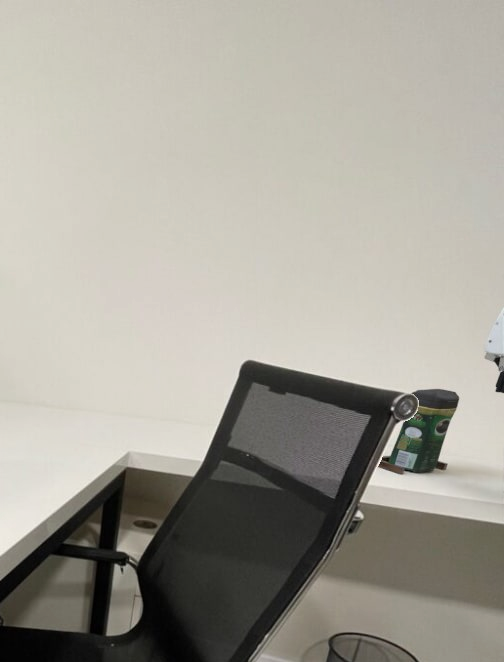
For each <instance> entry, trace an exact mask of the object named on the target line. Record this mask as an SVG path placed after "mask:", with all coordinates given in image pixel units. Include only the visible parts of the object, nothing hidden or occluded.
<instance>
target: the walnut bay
mask: <svg viewBox="0 0 504 662" xmlns="http://www.w3.org/2000/svg"><path fill="white" fill-rule="evenodd" d="M382 456H383V455H382ZM390 456H391V455H384V456H383V457H382V460H381V462H380V464H379V466H378V468H381V469H383V470H386V471H389V472H393V473H396V474H398V475H403V474H404V473H405V468H404V467H401V466H398V465H395V464H392V463H389V459H390ZM448 464H449V463H447V462H443V461H440V460H438V462H437V465H436V468H437V469H439V470H443V471H444V470H447V467H448ZM436 468H435V469H436Z"/></svg>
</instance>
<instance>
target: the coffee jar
mask: <svg viewBox="0 0 504 662" xmlns="http://www.w3.org/2000/svg"><path fill="white" fill-rule="evenodd" d="M411 394H414V395H415V396H416V397H417V398H418V400H419V407H418V411H417V413H416V414H415V415H414V417H413V418H411V419H410V420H408V421H405V422H404V421H403V422H402V425H401V427H400V429H399V430H400V431H399V434H398V436H397V438H396V441H395V443H394V446H393V448H392V450H391V453H390V455H389V456H390V459H389V463H392V464H395V465H398V466H401V467H404V468H405V470H406V471H411V472H414V473H423V472H429V471H433V470H435V469H436V465H437V462H438V461H439V459H440V455H441V452H442V449H443V446H444V442H445V439H446V436H447V432H448V429H449V426H450V424H451V421H452V419H453V417H454V415H455V413H456V411H457V408H458V406H459V402H460V396H459V395H458V394H457V392H456V391H453V390H448V389H443V388H431V389H430V388H429V389H417V390H416V391H413V392H411V393H410V395H411ZM405 470H404V471H405Z"/></svg>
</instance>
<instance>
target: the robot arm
mask: <svg viewBox="0 0 504 662" xmlns="http://www.w3.org/2000/svg"><path fill="white" fill-rule="evenodd" d="M484 352H485V355H484V359H485V360H487V361H490V362H492V363H494V364H495V365H496V366H497V368H498V369H497V370H498V372H499V375H498V378H497V380H496V382H495V390H494V391H495V393H501V394H504V307H503V308H502V309H501V311H500V312H499V314H498V316H497V318H496V320H495V322H494V324H493V326H492V328H491V330H490V332H489V335H488V338H487V340H486V342H485V345H484Z"/></svg>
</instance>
